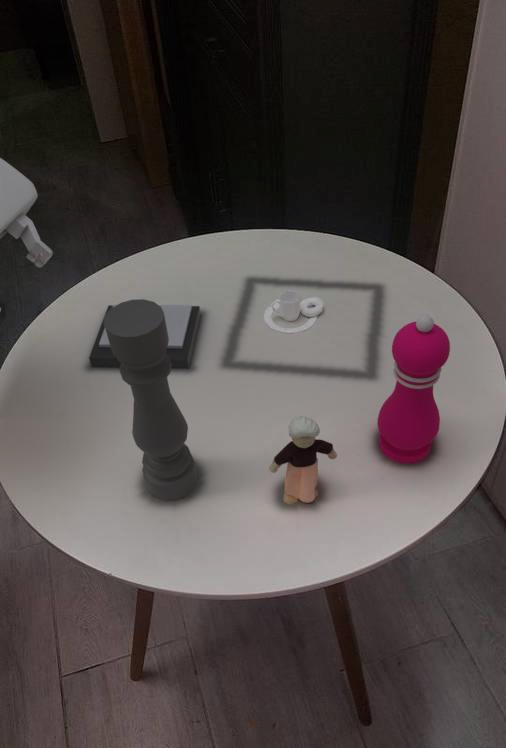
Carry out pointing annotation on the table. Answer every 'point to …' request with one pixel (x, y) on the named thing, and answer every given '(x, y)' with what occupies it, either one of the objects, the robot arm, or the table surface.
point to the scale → (180, 333)
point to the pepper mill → (413, 392)
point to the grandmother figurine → (302, 460)
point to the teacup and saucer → (294, 310)
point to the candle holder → (152, 397)
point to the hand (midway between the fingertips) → (22, 288)
